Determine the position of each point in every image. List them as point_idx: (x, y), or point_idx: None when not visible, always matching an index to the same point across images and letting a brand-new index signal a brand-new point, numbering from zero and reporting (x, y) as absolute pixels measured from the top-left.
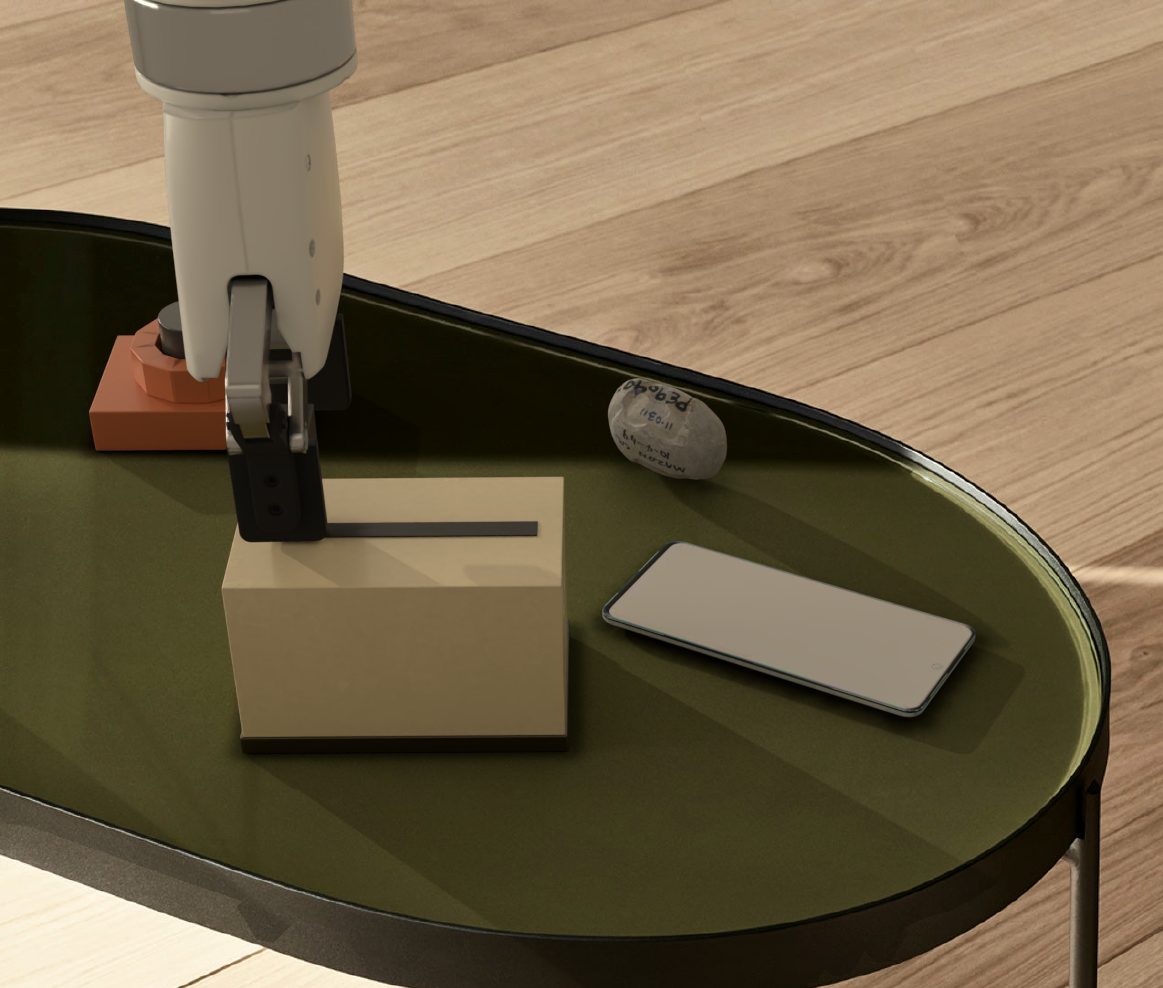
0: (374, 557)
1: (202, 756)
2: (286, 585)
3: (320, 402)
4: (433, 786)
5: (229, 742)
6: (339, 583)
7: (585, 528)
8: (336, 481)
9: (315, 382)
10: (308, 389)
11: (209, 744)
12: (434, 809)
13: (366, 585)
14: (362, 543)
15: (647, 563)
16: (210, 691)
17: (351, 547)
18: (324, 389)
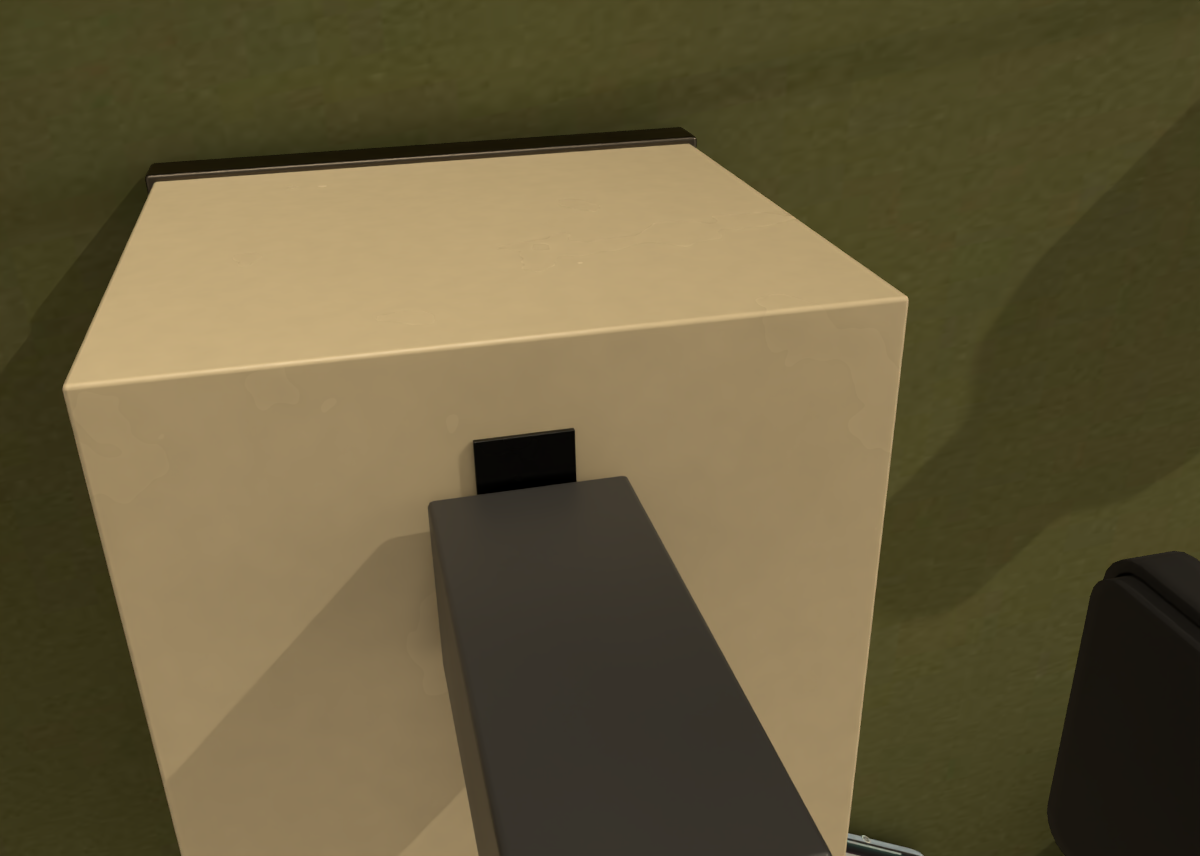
0: (373, 825)
1: (121, 48)
2: (141, 617)
3: (1085, 765)
4: (112, 619)
5: (200, 114)
6: (185, 776)
7: (1022, 703)
8: (854, 602)
9: (1154, 834)
10: (1137, 778)
11: (182, 58)
12: (27, 637)
13: (191, 850)
14: (459, 771)
15: (865, 846)
16: (431, 12)
17: (432, 747)
18: (1121, 835)
